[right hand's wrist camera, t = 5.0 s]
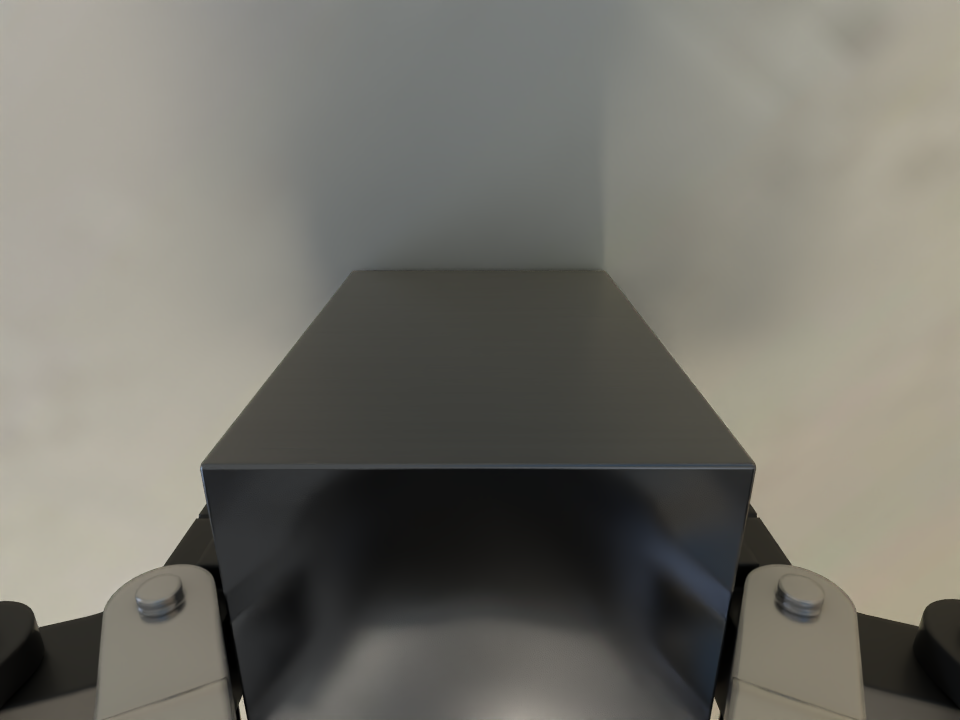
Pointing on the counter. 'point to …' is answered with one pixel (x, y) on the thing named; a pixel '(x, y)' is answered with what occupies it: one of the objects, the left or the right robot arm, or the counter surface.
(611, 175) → the counter surface
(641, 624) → the box
